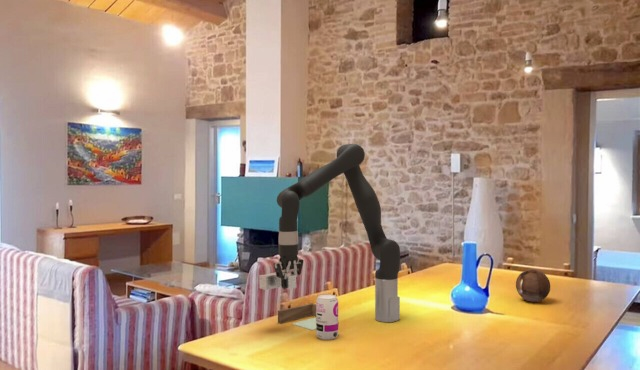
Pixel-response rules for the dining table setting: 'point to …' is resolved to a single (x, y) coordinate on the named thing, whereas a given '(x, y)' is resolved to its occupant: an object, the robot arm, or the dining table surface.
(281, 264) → the robot arm
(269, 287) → the bracket
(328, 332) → the supplement can
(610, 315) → the dining table surface
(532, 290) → the wooden sphere
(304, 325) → the pad
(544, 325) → the dining table surface
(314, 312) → the brown wooden corner wall
